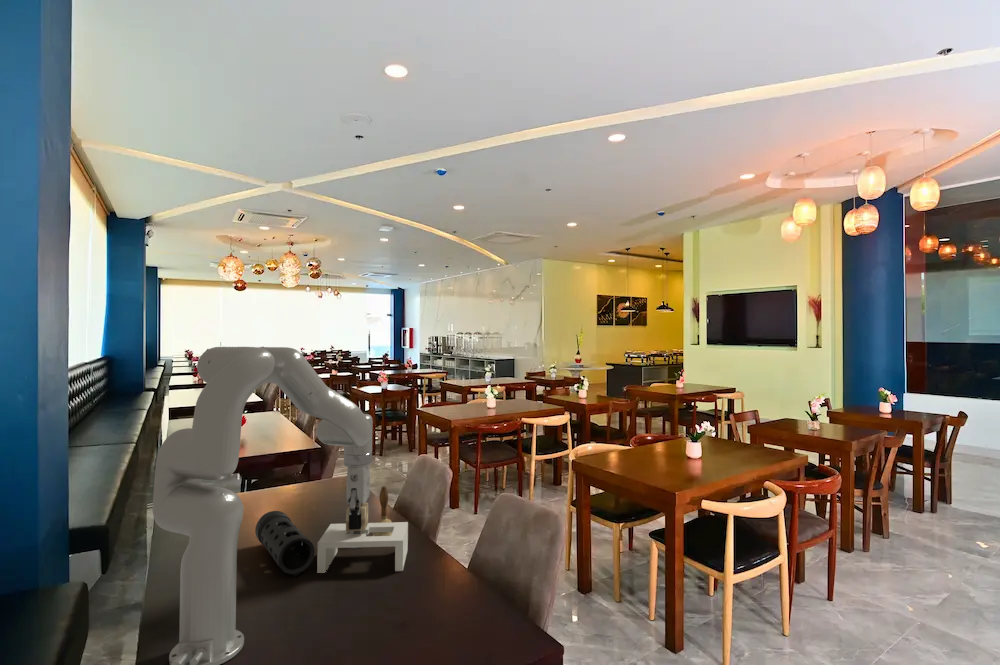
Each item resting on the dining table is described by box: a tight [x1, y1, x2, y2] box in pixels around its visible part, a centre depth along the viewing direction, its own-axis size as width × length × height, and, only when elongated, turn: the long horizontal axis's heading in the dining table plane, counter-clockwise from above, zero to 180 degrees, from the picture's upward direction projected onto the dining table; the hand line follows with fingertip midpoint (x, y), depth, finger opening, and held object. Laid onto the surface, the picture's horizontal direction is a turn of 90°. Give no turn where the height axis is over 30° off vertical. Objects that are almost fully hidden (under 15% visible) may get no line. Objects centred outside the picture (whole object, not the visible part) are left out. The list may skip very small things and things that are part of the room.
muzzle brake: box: [254, 510, 316, 577], centre depth 142 cm, size 10×28×10 cm, turn 37°
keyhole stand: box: [316, 521, 409, 574], centre depth 141 cm, size 14×22×8 cm, turn 95°
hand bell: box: [372, 485, 392, 536], centre depth 157 cm, size 8×8×16 cm
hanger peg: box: [345, 502, 369, 551], centre depth 141 cm, size 5×5×11 cm
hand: (357, 524), depth 141 cm, fingers closed on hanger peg, 5 cm apart
